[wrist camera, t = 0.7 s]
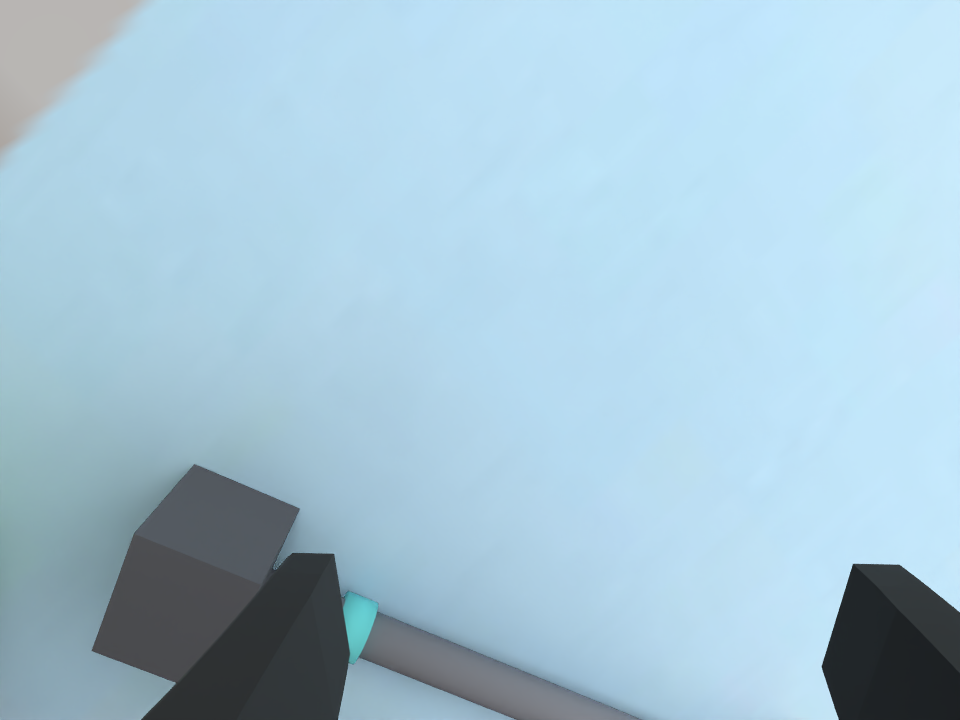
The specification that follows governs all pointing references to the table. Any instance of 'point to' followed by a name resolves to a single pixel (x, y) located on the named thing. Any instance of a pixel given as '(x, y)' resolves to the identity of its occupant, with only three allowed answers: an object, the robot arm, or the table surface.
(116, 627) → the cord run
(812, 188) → the table surface
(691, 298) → the table surface
